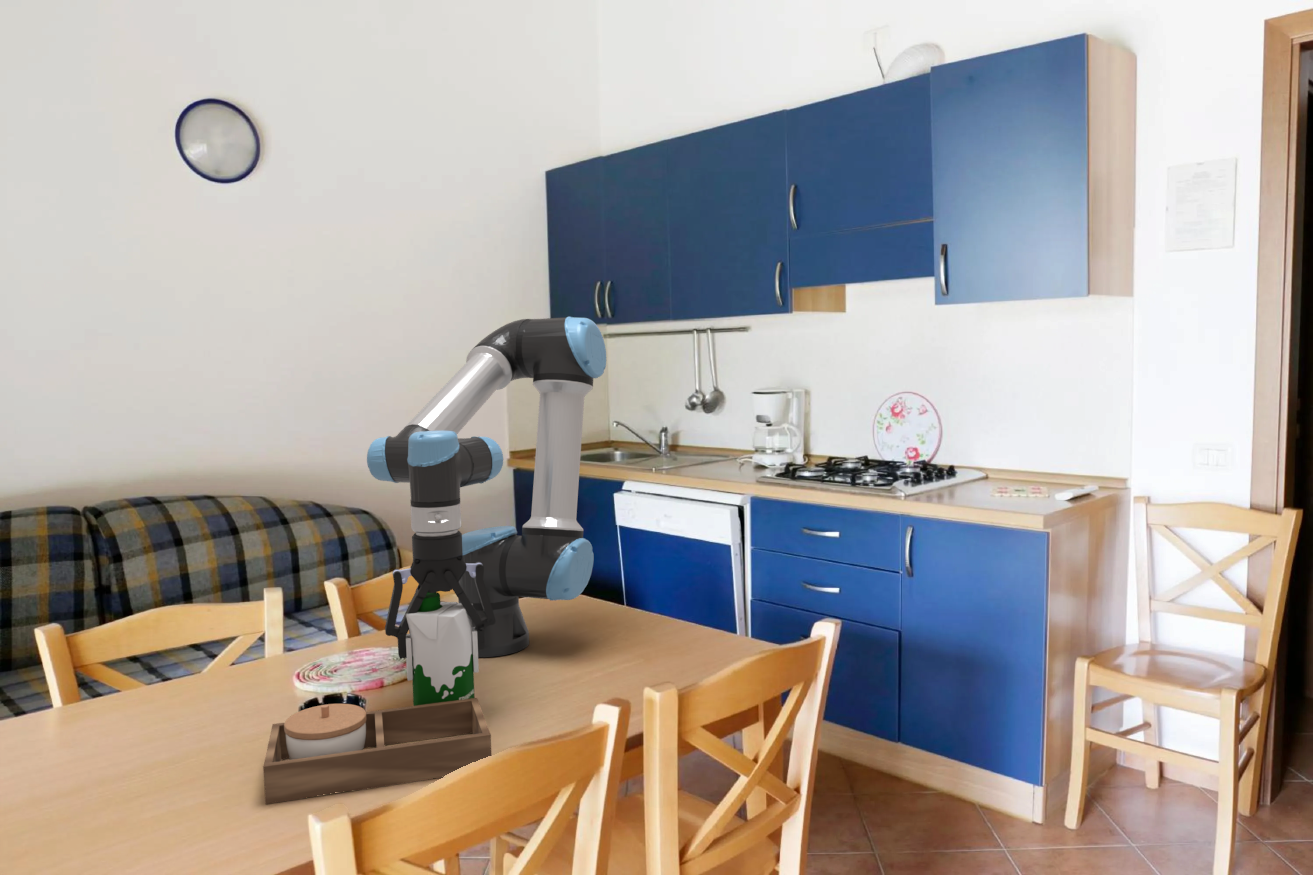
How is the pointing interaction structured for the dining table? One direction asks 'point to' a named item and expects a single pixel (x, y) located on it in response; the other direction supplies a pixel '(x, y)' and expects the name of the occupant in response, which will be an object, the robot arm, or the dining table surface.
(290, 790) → the organizer
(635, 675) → the dining table surface
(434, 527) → the robot arm
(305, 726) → the lidded jar
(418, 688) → the soya milk
